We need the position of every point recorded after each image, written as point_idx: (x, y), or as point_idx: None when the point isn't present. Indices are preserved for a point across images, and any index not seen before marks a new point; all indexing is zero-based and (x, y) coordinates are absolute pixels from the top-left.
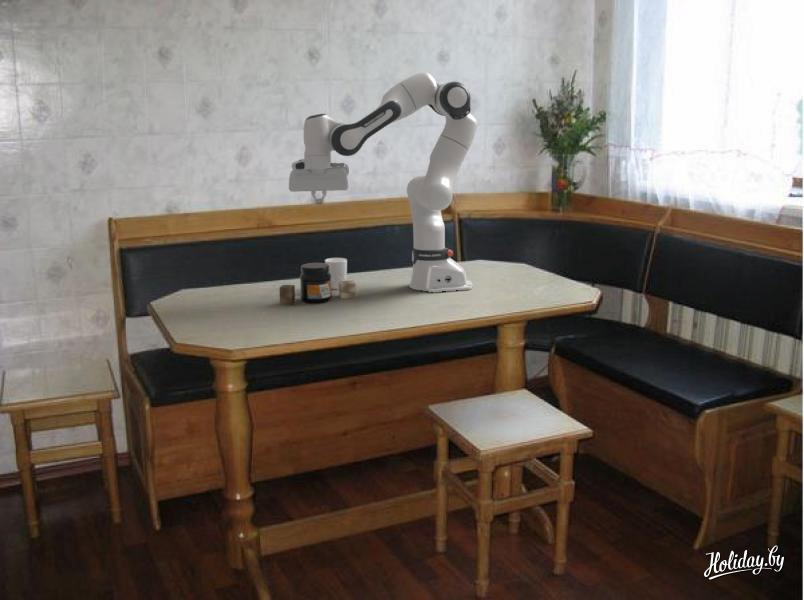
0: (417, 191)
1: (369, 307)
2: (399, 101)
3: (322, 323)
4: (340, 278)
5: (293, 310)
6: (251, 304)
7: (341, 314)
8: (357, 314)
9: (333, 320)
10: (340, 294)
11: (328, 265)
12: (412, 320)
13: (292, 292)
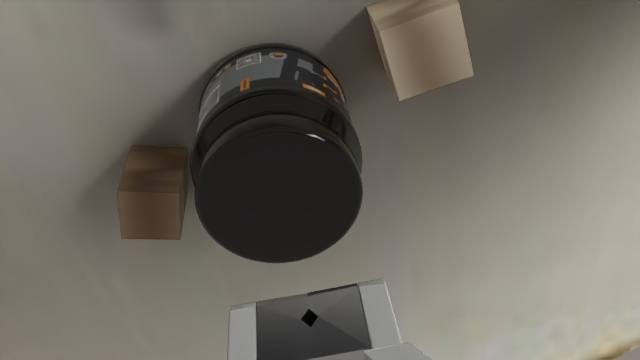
0: None
1: (503, 193)
2: None
3: None
4: None
5: (218, 251)
6: (2, 190)
7: (402, 277)
8: (456, 272)
9: None
10: (381, 54)
11: (358, 195)
12: (621, 308)
13: (182, 207)
